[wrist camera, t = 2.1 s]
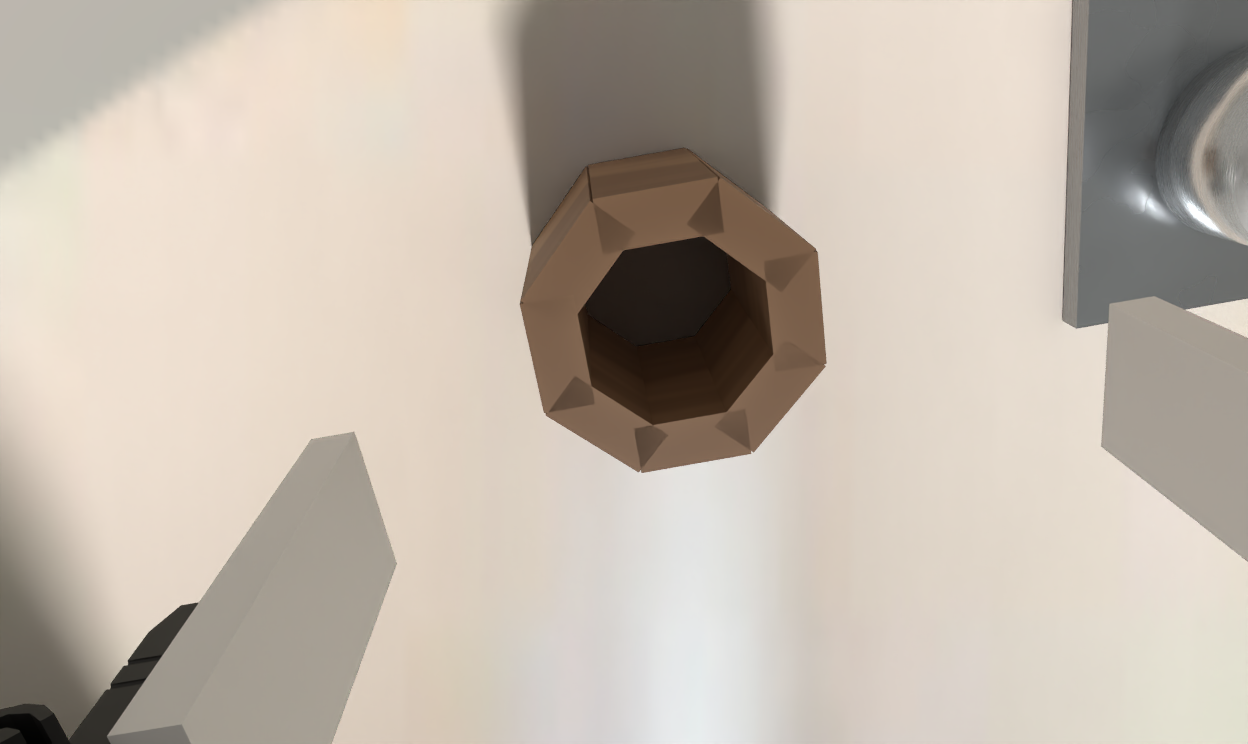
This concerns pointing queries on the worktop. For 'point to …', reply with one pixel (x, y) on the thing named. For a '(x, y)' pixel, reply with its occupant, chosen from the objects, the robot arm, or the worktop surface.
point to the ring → (683, 368)
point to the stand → (1156, 155)
